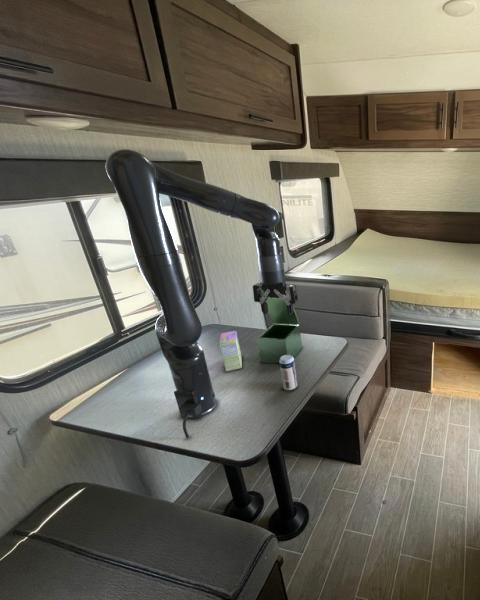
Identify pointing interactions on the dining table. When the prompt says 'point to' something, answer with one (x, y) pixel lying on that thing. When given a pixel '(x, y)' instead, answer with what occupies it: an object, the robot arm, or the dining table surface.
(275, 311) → the bin lid
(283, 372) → the beer can
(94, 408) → the dining table surface
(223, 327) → the dining table surface
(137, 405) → the dining table surface
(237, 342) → the box
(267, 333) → the trash bin
